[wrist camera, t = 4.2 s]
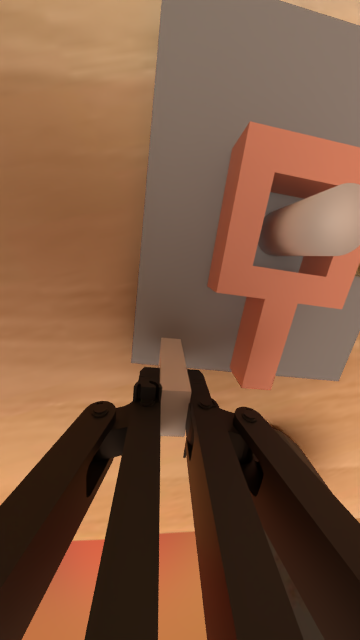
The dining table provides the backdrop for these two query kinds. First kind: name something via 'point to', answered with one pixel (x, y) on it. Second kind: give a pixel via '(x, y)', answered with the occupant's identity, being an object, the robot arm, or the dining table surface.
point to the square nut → (244, 231)
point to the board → (212, 168)
